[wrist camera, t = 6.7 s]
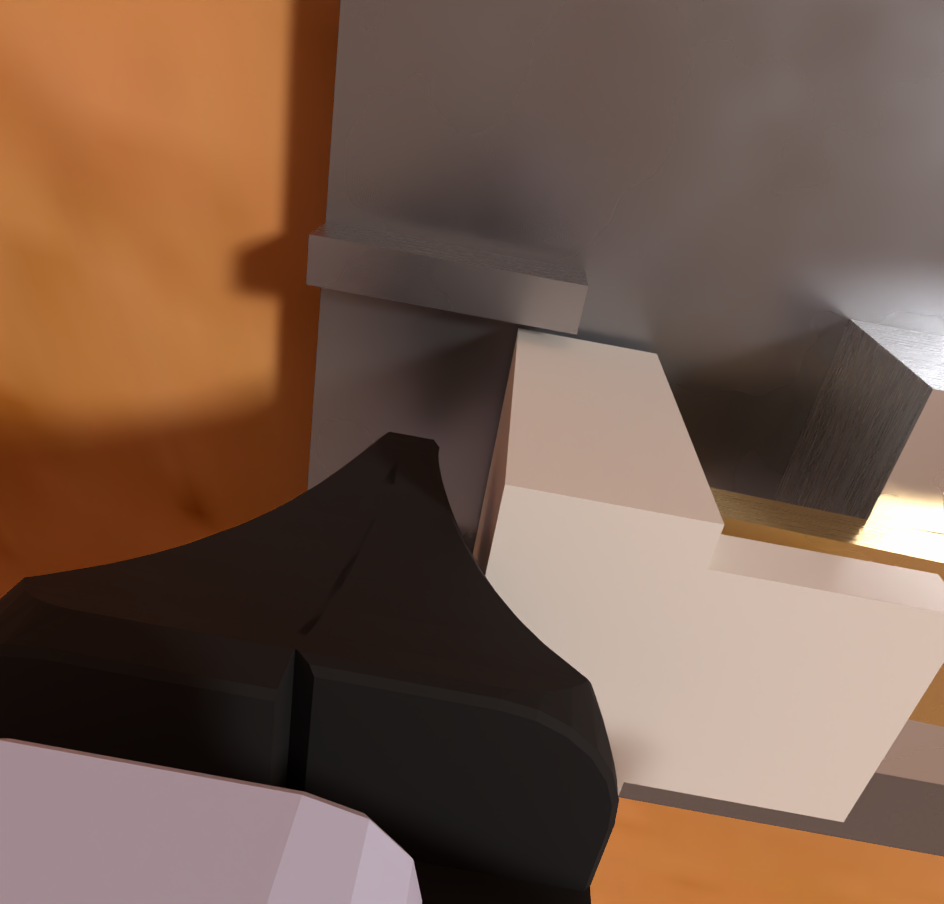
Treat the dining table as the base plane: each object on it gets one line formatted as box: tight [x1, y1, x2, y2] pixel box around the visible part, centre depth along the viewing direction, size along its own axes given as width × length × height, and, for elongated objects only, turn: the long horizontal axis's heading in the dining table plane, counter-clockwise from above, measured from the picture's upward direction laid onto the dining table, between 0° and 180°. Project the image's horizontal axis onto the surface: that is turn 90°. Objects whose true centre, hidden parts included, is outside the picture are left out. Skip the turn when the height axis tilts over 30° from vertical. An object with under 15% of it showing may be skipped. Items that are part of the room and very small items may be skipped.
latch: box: [473, 328, 944, 822], centre depth 11 cm, size 5×5×5 cm
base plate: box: [306, 0, 944, 856], centre depth 12 cm, size 20×19×6 cm
